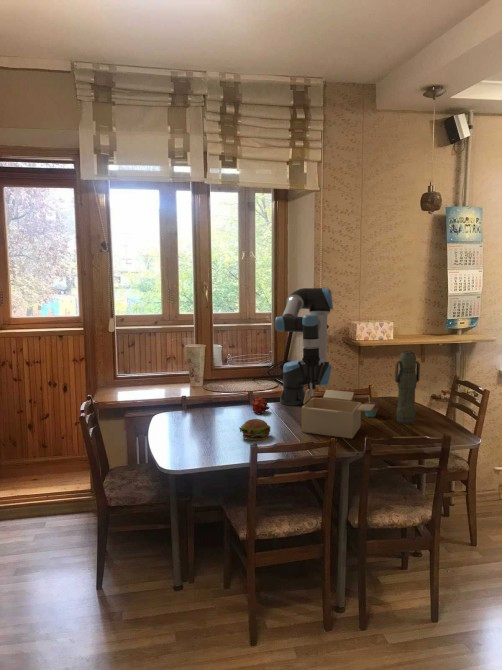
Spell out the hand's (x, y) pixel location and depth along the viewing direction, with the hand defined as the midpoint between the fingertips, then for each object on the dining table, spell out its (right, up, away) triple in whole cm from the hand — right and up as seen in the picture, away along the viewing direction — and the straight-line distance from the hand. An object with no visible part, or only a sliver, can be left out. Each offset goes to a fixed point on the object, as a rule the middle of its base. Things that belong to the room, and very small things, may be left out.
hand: (311, 395), depth 248 cm
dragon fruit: (-24, -12, +26) cm, 38 cm away
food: (-28, -18, -10) cm, 35 cm away
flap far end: (+21, -4, -9) cm, 23 cm away
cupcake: (+32, -13, +18) cm, 39 cm away
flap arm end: (-2, -3, +1) cm, 4 cm away
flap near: (+5, -5, -12) cm, 14 cm away
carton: (+9, -16, -2) cm, 18 cm away
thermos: (+48, -14, +9) cm, 51 cm away
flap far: (+13, -2, +5) cm, 14 cm away
